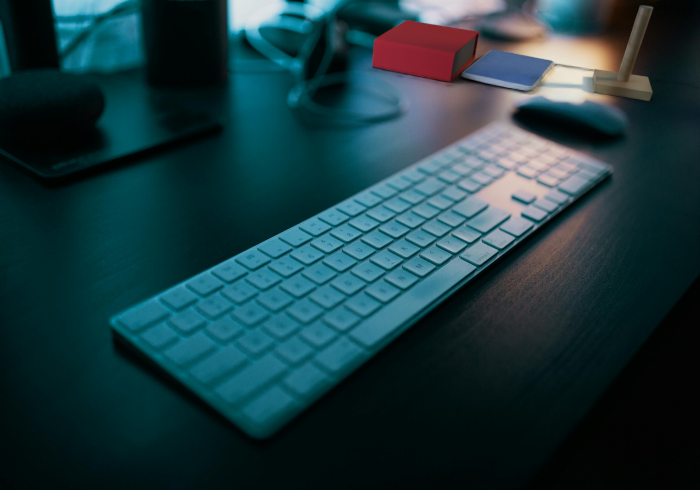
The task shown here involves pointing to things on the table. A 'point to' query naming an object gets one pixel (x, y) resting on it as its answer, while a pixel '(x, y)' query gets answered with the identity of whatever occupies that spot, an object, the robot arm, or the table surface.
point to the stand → (627, 66)
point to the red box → (425, 50)
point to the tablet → (509, 70)
